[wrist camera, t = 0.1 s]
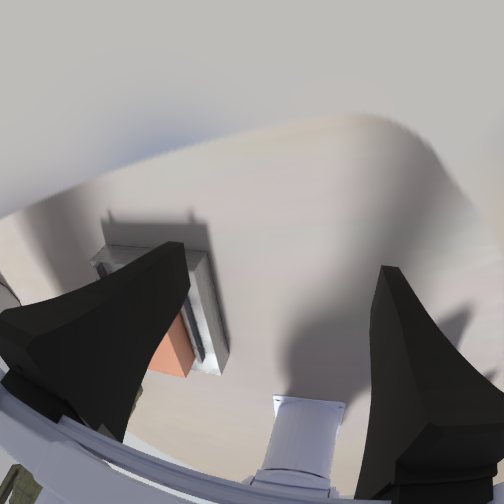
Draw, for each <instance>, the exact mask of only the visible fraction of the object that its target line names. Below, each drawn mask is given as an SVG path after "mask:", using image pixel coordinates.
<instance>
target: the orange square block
mask: <svg viewBox="0 0 504 504" xmlns="http://www.w3.org/2000/svg"><path fill="white" fill-rule="evenodd" d="M195 359H196V356H195V353H194V350H193V347H192V344H191V341H190V338H189V335H188V332H187V329H186V326H185V323H184V320H183V316H182V313H181V310H180V311H179V313H178V315H177V317H176V318H175V320H174V322H173V323H172V325H171V327H170V328H169V330H168V332H167V333H166V335H165V336H164V338H163V340H162V341H161V343H160V345H159V346H158V348H157V350H156V352H155V354H154V355H153V357H152V359H151V362H150V364H149V366H148V368H147V369H150V370H154V371H158V372H162V373H166V374H170V375H174V376H178V377H182V378H186V377H187V375H188V373H189V371H190V369H191V367H192V365H193V363H194V361H195Z"/></svg>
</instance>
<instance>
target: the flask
mask: <svg viewBox="0 0 504 504" xmlns="http://www.w3.org/2000/svg"><path fill="white" fill-rule="evenodd" d="M14 307H20V303H19V301H18V300H17V299H16V298H15V297H14V296H13V295H12V293H11V292H10V291H9V290H8V289H7V288H6V287H4V286H3V285H1V284H0V313H1V312H2V311H3V310H5V309H9V308H14Z"/></svg>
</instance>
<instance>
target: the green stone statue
mask: <svg viewBox="0 0 504 504" xmlns="http://www.w3.org/2000/svg"><path fill="white" fill-rule="evenodd" d="M142 392H143V389H142V386H141V385H140V388H139V391H138V393H137V396H136V399H135V402H134V405H133V408H132V411H131V414H130V417H131V415H132V413H133V411H134V409H135V407H136V402H137V401H138V399H139V397H140V396H141V395H142ZM130 417H129V418H130ZM93 455H94V454H93ZM96 457H97V456H96ZM98 458H99V457H98ZM100 459H101V458H100ZM101 460H102V459H101ZM12 489H13V492H12V496H11V498H10V499H9V504H34V503H35V501H36V500H37V498H38V496H39V494H40V492H41V490H42V489H43V487H42V486H41V485H40V484H38V483H37V482H36V481H35V480H34V477H33V474H32V473H31V472H29V471H28V470H27V469H26V468H25V467H23V466H22V465H21V464H16V465H12V466H11V468H10V470H9V472H8V474H7V475H6V477H5V479H4V480H3V482H2V484H1V486H0V504H4V503H5V502H6V500H7V498H8V496H9V494H10V493H11V491H12Z"/></svg>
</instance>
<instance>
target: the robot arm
mask: <svg viewBox="0 0 504 504" xmlns="http://www.w3.org/2000/svg"><path fill="white" fill-rule="evenodd" d="M190 287H191V282H190V277H189V272H188V267H187V261H186V256H185V250H184V244H183V243H179V242H170V241H169V242H167V243H165V244H163V245H161V246H159V247H157V248H155V249H153V250H151V251H150V252H148V253H146V254H144V255H143V256H141V257H139V258H138V259H136V260H134V261H132V262H131V263H129V264H127V265H125V266H124V267H122V268H120V269H118V270H116V271H114V272H113V273H111V274H109V275H107V276H105V277H103V278H101V279H99V280H97V281H95V282H93V283H91V284H89V285H86V286H84V287H82V288H79V289H77V290H74V291H72V292H69V293H66V294H63V295H61V296H58V297H55V298H52V299H49V300H45V301H42V302H38V303H34V304H30V305H25V306H20V307H14V308H9V309H5V310H3V311H2V312H1V313H0V356H1V357H2V359H3V360H4V362H5V363H6V364H7V366H8V367H9V368H10V370H9V371H8V372H7V373H5V372H4V371H3V370H2V369H1V368H0V447H2V448H3V449H4V450H5V451H6V452H7V453H8V454H9V455H10V456H12V457H13V458H14V459H15V460H16V461H17V462H19V463H20V464H21V465H22V466H23V467H25V468H26V469H27V470H28V471H29V472H31V473H32V474H33V477H34V480H35V481H36V482H37V483H38V484H40V485H41V486H42V487H43V489H42V490H41V492H40V494H39V496H38V498H37V500H36V501H35V503H34V504H197V503H194V502H192V501H189V500H186V499H183V498H180V497H177V496H175V495H172V494H170V493H167V492H165V491H162V490H160V489H158V488H155V487H153V486H150V485H148V484H145V483H143V482H141V481H138V480H136V479H133V478H131V477H129V476H127V475H124V474H122V473H120V472H118V471H116V470H114V469H112V468H111V467H110V466H109V465H108V464H107V463H106V462H105V461H103V460H106V461H107V462H109V463H112V464H114V465H116V466H118V467H120V468H122V469H124V470H127V471H129V472H131V473H133V474H136V475H138V476H140V477H143V478H145V479H148V480H151V481H153V482H155V483H158V484H160V485H163V486H166V487H169V488H171V489H174V490H177V491H180V492H183V493H186V494H189V495H192V496H195V497H198V498H202V499H205V500H208V501H212V502H215V503H219V504H504V482H502V483H499V484H496V485H494V486H493V477H494V476H496V475H497V473H498V471H497V463H498V462H499V461H501V460H502V459H503V458H504V393H503V392H502V391H500V390H499V389H498V388H497V387H495V386H494V385H493V384H492V383H491V382H489V381H488V380H487V379H486V378H485V377H484V376H483V375H481V374H480V373H479V372H478V371H477V370H476V369H475V368H474V367H473V366H472V365H471V364H470V363H469V362H468V361H467V360H466V359H465V358H464V357H463V356H462V355H461V354H460V353H459V352H458V351H457V350H456V348H455V347H454V346H453V345H452V344H451V343H450V341H449V340H448V339H447V338H446V337H445V336H444V334H443V333H442V332H441V331H440V329H439V328H438V327H437V325H436V324H435V323H434V321H433V320H432V318H431V317H430V316H429V314H428V313H427V311H426V310H425V308H424V307H423V305H422V304H421V302H420V301H419V299H418V298H417V296H416V295H415V293H414V291H413V290H412V288H411V287H410V285H409V283H408V282H407V280H406V278H405V277H404V275H403V274H402V272H401V270H400V269H399V267H392V266H383V265H381V270H380V274H379V278H378V283H377V287H376V291H375V295H374V299H373V303H372V307H371V315H370V334H369V336H370V356H371V384H372V390H371V406H370V415H369V424H368V431H367V437H366V444H365V450H364V455H363V460H362V466H361V471H360V475H359V479H358V484H357V488H356V492H355V496H354V499H339V496H340V494H339V492H338V490H336V487H330V489H329V486H330V479H329V477H330V472H331V466H332V460H333V454H334V448H335V441H336V437H337V435H338V432H339V428H340V425H341V421H342V418H343V414H344V410H345V407H346V403H344V402H337V401H326V400H315V399H306V398H298V397H290V396H282V395H274V396H273V402H274V413H275V423H274V427H273V430H272V434H271V438H270V441H269V445H268V448H267V452H266V455H265V459H264V462H263V466H262V469H261V470H257V472H256V476H249V477H248V478H246V479H245V480H243V481H242V483H238V482H234V481H230V480H226V479H222V478H219V477H215V476H211V475H208V474H204V473H201V472H198V471H194V470H191V469H188V468H185V467H182V466H179V465H176V464H173V463H170V462H167V461H164V460H161V459H159V458H156V457H153V456H151V455H148V454H146V453H143V452H141V451H138V450H136V449H133V448H131V447H129V446H126V445H124V444H122V443H123V439H124V435H125V431H126V427H127V424H128V420H129V417H130V414H131V411H132V408H133V405H134V402H135V399H136V396H137V393H138V391H139V388H140V385H141V383H142V380H143V378H144V375H145V373H146V371H147V368H148V366H149V364H150V362H151V359H152V357H153V355H154V354H155V352H156V350H157V348H158V346H159V345H160V343H161V341H162V340H163V338H164V336H165V335H166V333H167V332H168V330H169V328H170V327H171V325H172V323H173V322H174V320H175V318H176V317H177V315H178V313H179V311H180V310H181V308H182V306H183V304H184V302H185V299H186V297H187V294H188V292H189V290H190ZM276 399H279V401H277V400H276ZM339 406H343V407H342V408H340V407H339ZM93 454H94V455H93ZM96 456H97V457H96ZM98 457H99V458H98ZM100 458H101V459H103V460H101V459H100ZM328 490H329V492H328Z"/></svg>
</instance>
